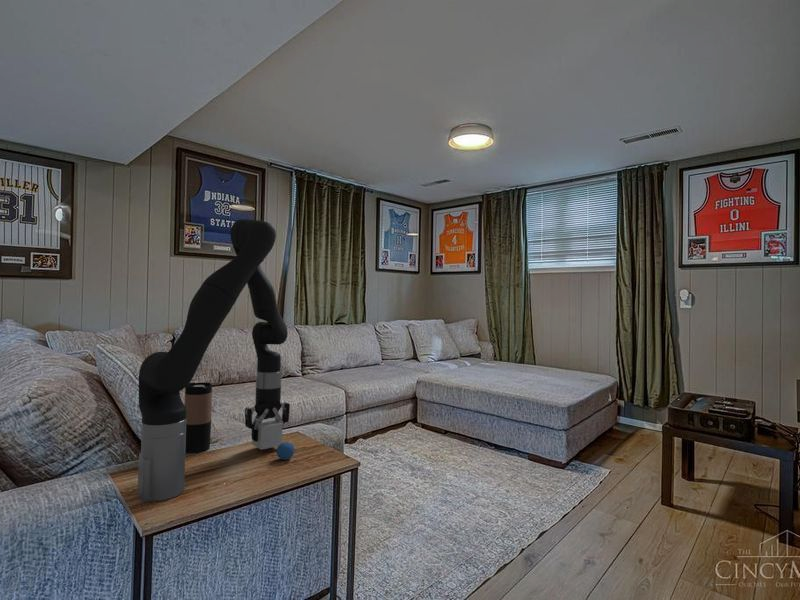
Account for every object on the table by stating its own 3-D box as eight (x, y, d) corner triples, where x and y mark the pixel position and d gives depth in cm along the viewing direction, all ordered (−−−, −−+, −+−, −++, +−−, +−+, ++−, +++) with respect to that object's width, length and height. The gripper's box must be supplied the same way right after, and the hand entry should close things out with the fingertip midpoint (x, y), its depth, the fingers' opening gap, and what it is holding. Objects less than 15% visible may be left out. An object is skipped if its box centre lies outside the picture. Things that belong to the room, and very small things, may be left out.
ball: (280, 444, 120) (272, 444, 124) (282, 462, 119) (274, 462, 123) (295, 439, 123) (287, 440, 127) (298, 457, 123) (290, 457, 126)
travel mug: (185, 446, 132) (187, 382, 133) (212, 444, 135) (213, 382, 135) (180, 454, 125) (182, 387, 125) (208, 452, 127) (210, 386, 128)
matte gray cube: (260, 449, 127) (261, 427, 127) (251, 443, 132) (252, 422, 132) (281, 445, 131) (282, 423, 131) (272, 439, 136) (273, 418, 136)
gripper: (250, 390, 124) (249, 446, 124) (295, 385, 134) (293, 437, 133) (241, 386, 130) (239, 440, 130) (284, 381, 139) (283, 431, 139)
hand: (267, 438), depth 132 cm, fingers closed on matte gray cube, 7 cm apart
